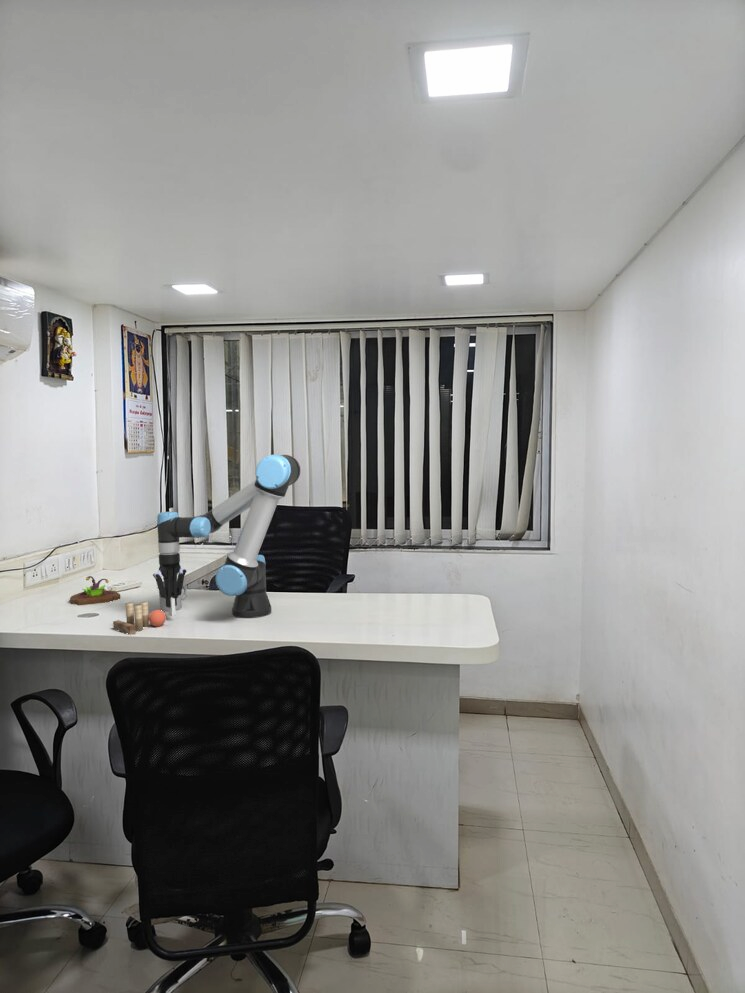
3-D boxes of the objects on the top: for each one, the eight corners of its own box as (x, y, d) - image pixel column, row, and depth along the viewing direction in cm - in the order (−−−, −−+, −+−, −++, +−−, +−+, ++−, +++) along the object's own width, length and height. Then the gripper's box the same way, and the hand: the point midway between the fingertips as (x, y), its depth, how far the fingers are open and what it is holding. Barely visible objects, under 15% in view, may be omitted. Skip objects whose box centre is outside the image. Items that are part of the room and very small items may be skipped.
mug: (168, 612, 260) (166, 585, 259) (155, 609, 265) (154, 583, 264) (193, 606, 269) (191, 580, 268) (180, 604, 274) (179, 578, 274)
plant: (65, 600, 290) (63, 575, 289) (111, 594, 301) (109, 569, 301) (76, 608, 274) (74, 581, 273) (124, 600, 286) (122, 575, 285)
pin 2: (144, 630, 233) (143, 605, 232) (137, 631, 231) (136, 606, 231) (140, 629, 235) (139, 604, 234) (134, 630, 233) (132, 605, 232)
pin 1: (135, 627, 237) (134, 603, 236) (129, 629, 235) (127, 604, 234) (132, 626, 239) (131, 602, 238) (125, 628, 237) (124, 603, 236)
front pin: (150, 626, 238) (149, 602, 237) (143, 628, 236) (142, 603, 235) (146, 625, 240) (145, 601, 239) (140, 627, 238) (138, 602, 237)
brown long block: (135, 633, 229) (135, 625, 228) (130, 635, 227) (129, 626, 227) (118, 628, 237) (118, 620, 236) (113, 629, 235) (113, 621, 235)
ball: (160, 616, 234) (162, 630, 236) (167, 607, 239) (169, 620, 242) (144, 615, 234) (147, 628, 237) (152, 605, 240) (154, 619, 242)
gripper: (179, 550, 252) (181, 610, 253) (147, 554, 242) (150, 617, 244) (189, 551, 247) (192, 613, 248) (158, 556, 237) (161, 620, 239)
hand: (171, 615), depth 246 cm, fingers closed
